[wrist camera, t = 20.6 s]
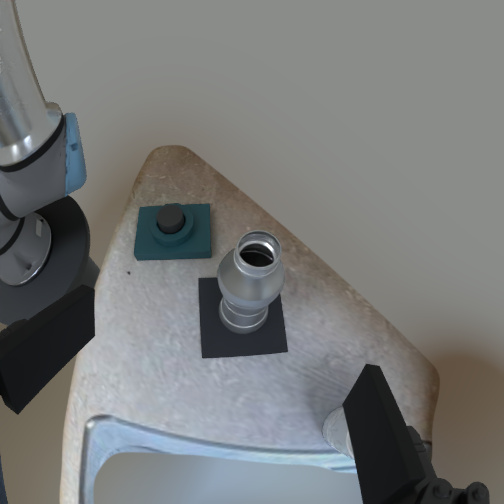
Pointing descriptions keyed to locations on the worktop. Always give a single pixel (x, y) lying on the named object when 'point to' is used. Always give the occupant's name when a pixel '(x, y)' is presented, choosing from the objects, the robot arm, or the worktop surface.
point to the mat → (230, 343)
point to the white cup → (338, 432)
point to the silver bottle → (250, 281)
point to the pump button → (170, 219)
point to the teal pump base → (174, 234)
